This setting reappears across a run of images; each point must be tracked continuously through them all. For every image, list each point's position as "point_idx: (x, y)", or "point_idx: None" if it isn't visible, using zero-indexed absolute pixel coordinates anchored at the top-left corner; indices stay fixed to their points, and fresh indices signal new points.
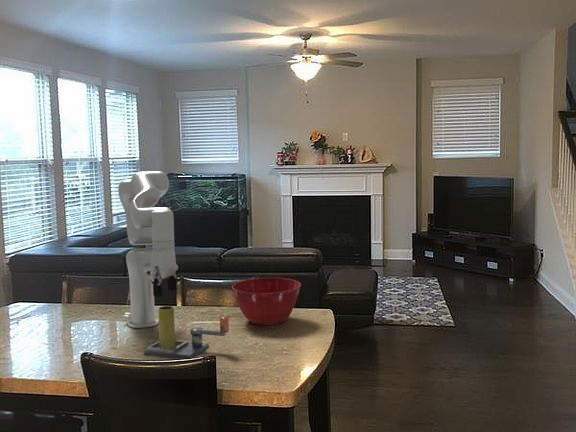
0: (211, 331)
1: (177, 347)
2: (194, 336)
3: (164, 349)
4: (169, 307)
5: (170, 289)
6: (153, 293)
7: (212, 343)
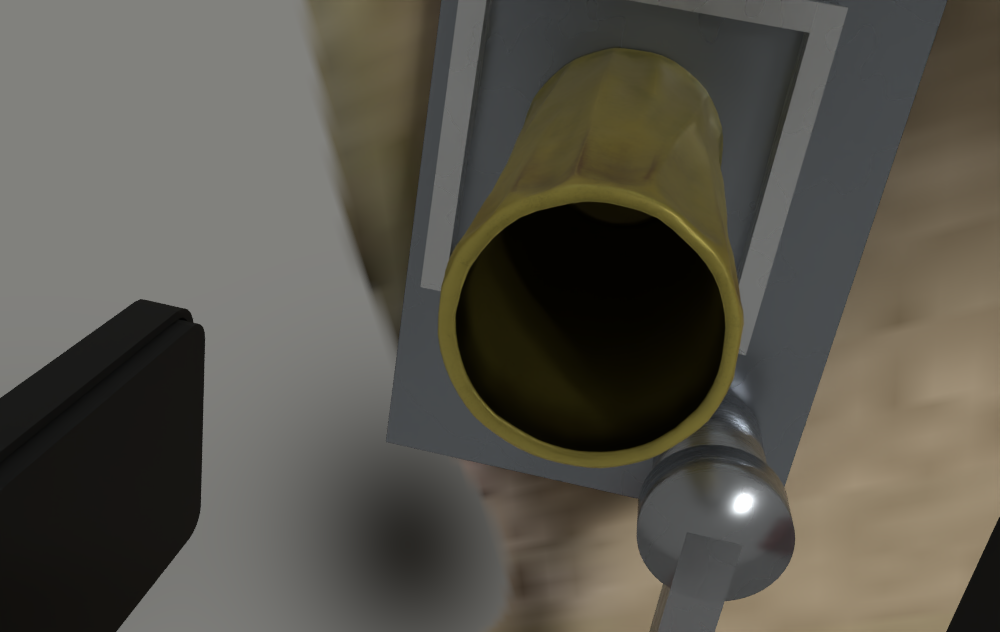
0: None
1: None
2: None
3: (435, 185)
4: (721, 353)
5: (979, 575)
6: (104, 328)
7: (877, 524)
